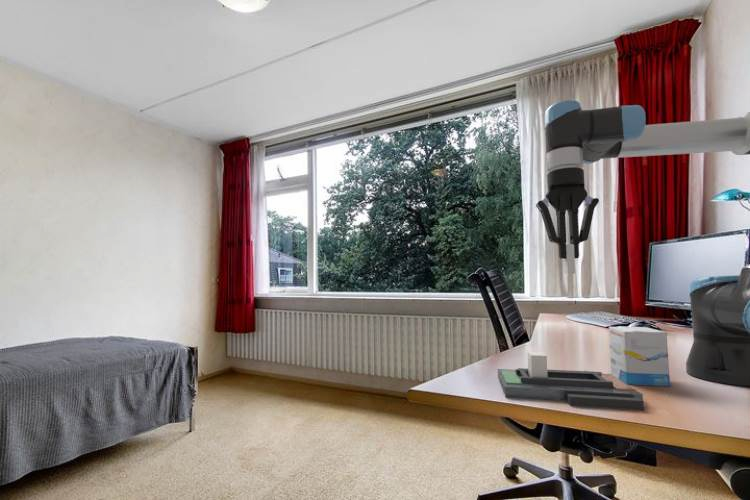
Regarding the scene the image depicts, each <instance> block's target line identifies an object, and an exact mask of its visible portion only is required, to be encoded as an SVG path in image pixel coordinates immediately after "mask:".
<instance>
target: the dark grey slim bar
mask: <svg viewBox="0 0 750 500" xmlns="http://www.w3.org/2000/svg"><path fill="white" fill-rule="evenodd" d="M517 369H524V370H528V368H525V367H524V368H521V367H520V368H519V367H518V368H517ZM547 371H568V372H590V373H600V374H604V373H603V372H602V371H589V370H586V371H585V370H567V369H566V370H564V369H563V370H561V369H547Z"/></svg>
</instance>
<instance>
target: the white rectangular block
mask: <svg viewBox="0 0 750 500" xmlns="http://www.w3.org/2000/svg"><path fill="white" fill-rule="evenodd" d="M547 358H548V357H547V355H546V354H545V353H544V351H527V369H528V375H529V376H530V377H543V378H548V376H547V370H548V359H547Z"/></svg>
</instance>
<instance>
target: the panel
mask: <svg viewBox="0 0 750 500" xmlns="http://www.w3.org/2000/svg"><path fill="white" fill-rule="evenodd" d="M524 369H525V368H524ZM524 369H518V368H516V369H508V368H507V369H506V368H497V379H498V381H499V382H498V383H499V384H500V387H501V389H502V392H503V395H504V397H505V398H514V399H515V398H517V399H531V400H532V399H533V400H547V401H563V402H568V400H567V394H578V395H595V396H612V397H629V398H640V399H641V400H643V401H644V395H643V393H642V392H639V390H637V389H635V388H633V387H632V386H631V385H630V384H626V383H625V382H623V381H621V380H619V379H618V378H616V377H615V376H613V375H612V374H611V373H603V374H600V373H590V372H568V371H569V370H568V371H547V376H548V378H543V377H530V376H529V375H528V370H524Z"/></svg>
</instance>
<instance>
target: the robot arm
mask: <svg viewBox="0 0 750 500" xmlns="http://www.w3.org/2000/svg"><path fill="white" fill-rule="evenodd" d="M646 121H647V120H646V112H645V109H644V108H643V107H642V106H641V105H639V104H634V105H633V104H632V105H631V104H630V105H620V106H612V107H611V106H610V107H604V108H596V109H595V108H594V109H582V106H581V104H580V102H579V101H578V100H571V99H567V100H560V101H559V102H558V101H557V102H555V103H553V104H551V105H550V106H548V108H547V109H546V110H545V114H544V136H545V137H544V138H545V154H546V156H545V157H546V172H548V173H547V175H546V183H547V185H546V186H547V192H546V193H545V198H543V199H542V200H539V201H537V203H536V204H535V208H537V210H538V211H539V212H540V215H541V217H542V220H543V221H542V222H543V224H544V227H545V231H546V234H547V237H548V240H549V242H550V243H552V244H553V243H554V244H556V245H557V246H558V257H559V259H560V260H563V269H564V272H563V273H564V274H576V259H579V257H580V243H583V242H586V241H588V240H589V235H590V234H589V233H590V230H591V226H592V220H593V216H594V212H595V208H596V207H597V205H598V204H599V203H600V199H599V198H598V197H592V196H590V195H588V191H587V190H586V188H585V183H586V182H585V170H584V169H583V167H584V166H585V165H584V164H594V163H595V162H599V161H600V160H603V159H605V160H606V159H616V158H618V159H619V158H633V157H635V158H636V157H652V156H654V157H655V156H668V155H669V156H671V155H685V154H687V155H688V154H702V153H705V154H707V153H716V152H717V153H719V152H720V153H722V152H723V153H724V152H731V153H732V154H734V155H735V156H744V155H746V156H747V155H750V112H744V113H741V114H739V115H738V116H737V117H733V118H732V117H731V118H729V117H728V118H720V119H717V118H716V119H708V120H707V119H705V120H696V121H695V120H694V121H680V122H669V123H655V124H646ZM583 203H584V206H585V209H584V211H583V215H582V220H581V224H580V228H579V208H580V207H581V205H582V204H583ZM549 204H550V205H549ZM550 206H551V207H552V208H553V209H554V210H555V215H556V229H555V225H554V223H553V220H552V219H553V218H552V215H551V212H550V210H549V209H550V208H549V207H550ZM566 211H567V212H566ZM566 213H567V214H566ZM566 215H568V229H569V230H568V231H569V243H567V223H566V221H567V219H566ZM556 230H557V231H556ZM689 286H690V287H689V293H688V294H689V298H690V309H691V322H692V323H691V324H692V333H693V334H692V335H693V336H692V338H693V340H692V341H693V342H692V346H691V348H690V351H689V353H688V356H687V359H686V361H685V370H686V371H685V372H686V373H687V374H688V375H690V376H693V377H695V378H698V379H701V380H705V381H709V382H714V383H715V382H716V383H719V384H726V385H734V386H742V387H750V263H749V264H746V265H744V266H742V268H741V269H740V274H738V275H734V274H733V275H716V276H706V277H699V278H695V279H693V280H692V281H691V282H690V285H689Z"/></svg>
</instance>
